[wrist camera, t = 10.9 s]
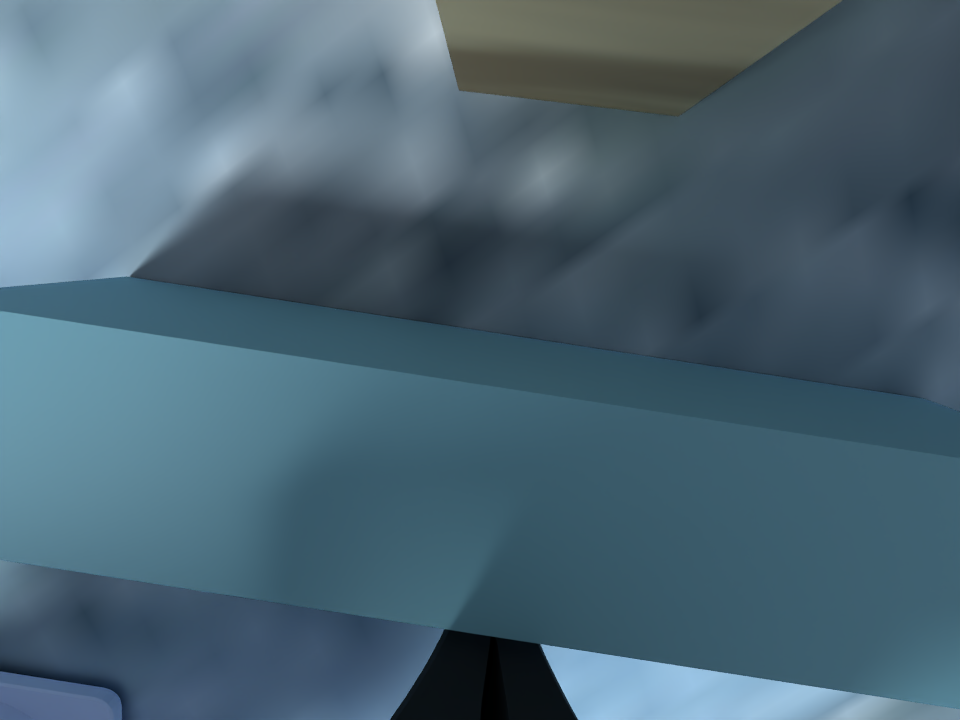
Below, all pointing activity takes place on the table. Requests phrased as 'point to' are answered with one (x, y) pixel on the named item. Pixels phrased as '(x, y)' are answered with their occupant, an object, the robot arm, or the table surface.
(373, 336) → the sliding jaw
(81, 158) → the table surface
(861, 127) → the table surface
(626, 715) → the table surface
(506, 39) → the oak block
